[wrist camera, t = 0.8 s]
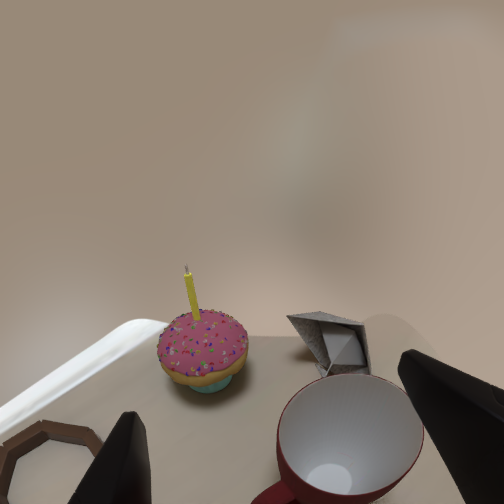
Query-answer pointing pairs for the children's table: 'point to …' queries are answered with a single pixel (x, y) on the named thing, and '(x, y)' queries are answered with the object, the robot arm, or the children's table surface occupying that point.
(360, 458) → the mug
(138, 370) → the children's table surface
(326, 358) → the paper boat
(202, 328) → the cupcake
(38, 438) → the hoop
